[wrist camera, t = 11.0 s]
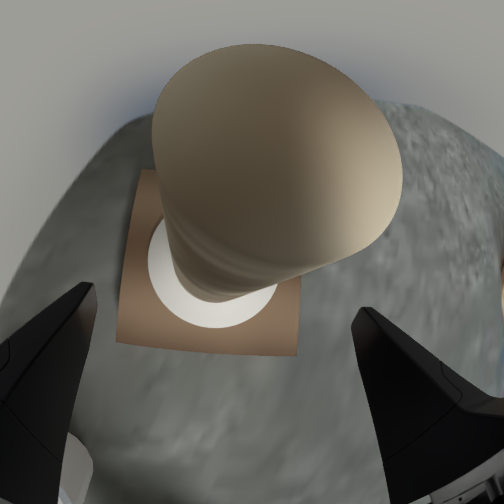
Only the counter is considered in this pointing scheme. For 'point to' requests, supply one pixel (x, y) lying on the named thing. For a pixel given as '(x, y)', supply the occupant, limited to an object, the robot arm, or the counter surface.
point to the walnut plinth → (187, 306)
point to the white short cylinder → (75, 472)
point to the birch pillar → (268, 169)
